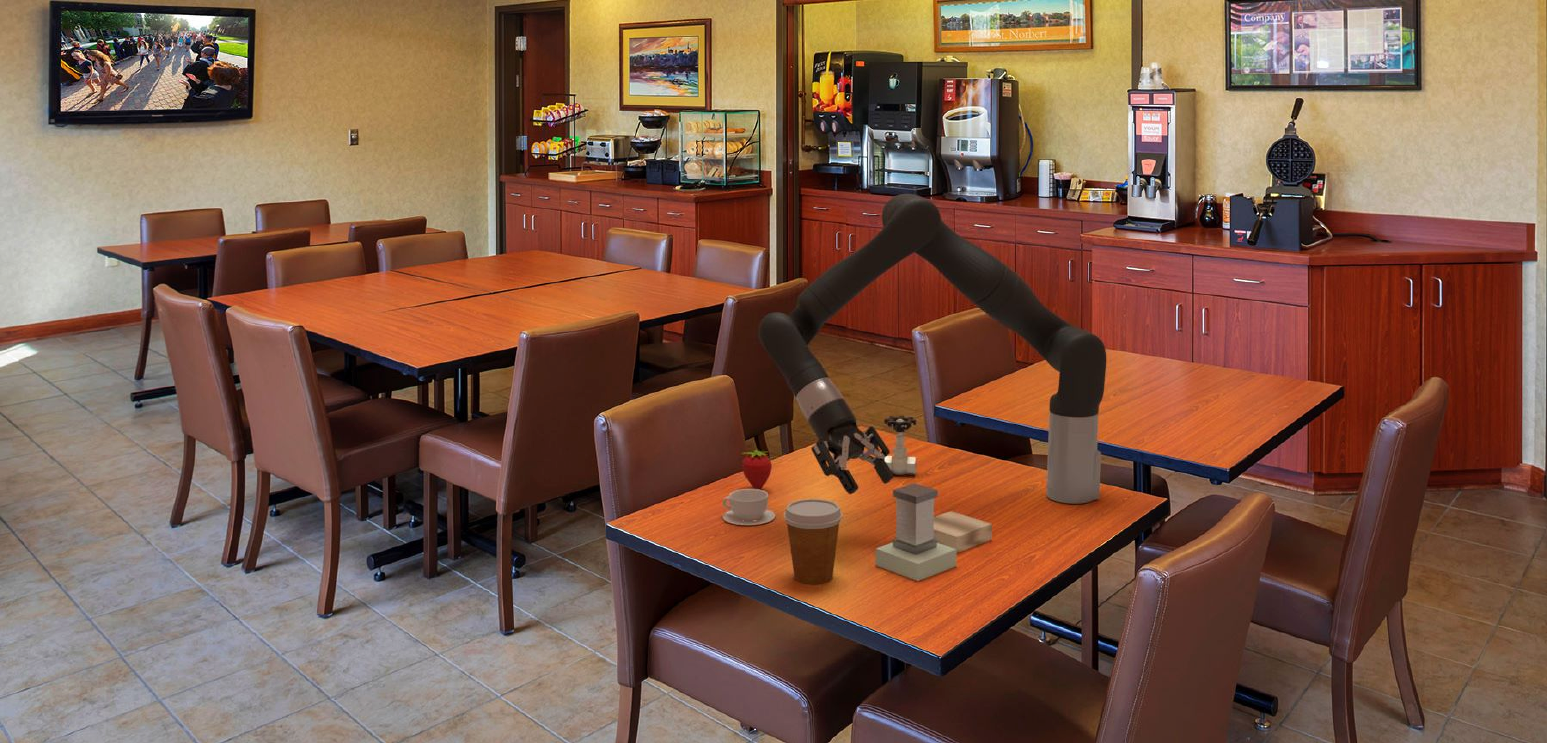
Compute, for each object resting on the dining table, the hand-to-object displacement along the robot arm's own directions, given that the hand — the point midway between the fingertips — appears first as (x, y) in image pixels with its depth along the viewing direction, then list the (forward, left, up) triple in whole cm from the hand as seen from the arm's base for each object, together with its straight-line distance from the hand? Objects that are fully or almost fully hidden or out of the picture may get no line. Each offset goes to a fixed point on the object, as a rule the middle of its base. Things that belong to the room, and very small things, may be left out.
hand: (872, 486), depth 205 cm
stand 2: (-15, -2, -12) cm, 19 cm away
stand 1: (-5, +9, -12) cm, 15 cm away
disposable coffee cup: (+13, +9, -12) cm, 20 cm away
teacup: (+18, -22, -12) cm, 31 cm away
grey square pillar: (-5, +8, -9) cm, 13 cm away
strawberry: (+14, -37, -12) cm, 41 cm away
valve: (-17, -41, -12) cm, 46 cm away
